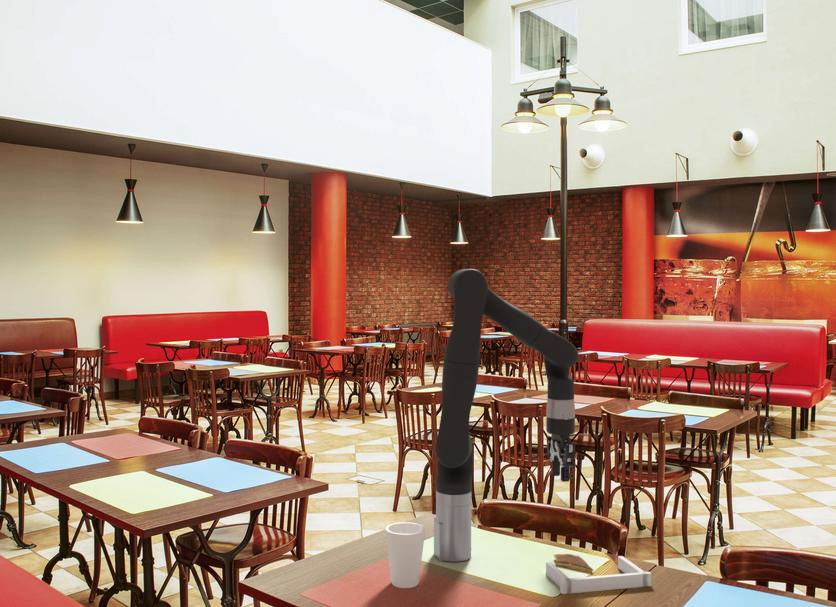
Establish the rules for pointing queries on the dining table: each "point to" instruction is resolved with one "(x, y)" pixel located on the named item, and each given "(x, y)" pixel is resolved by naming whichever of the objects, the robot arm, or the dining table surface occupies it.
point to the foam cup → (405, 552)
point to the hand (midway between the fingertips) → (560, 478)
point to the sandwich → (572, 562)
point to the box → (601, 579)
